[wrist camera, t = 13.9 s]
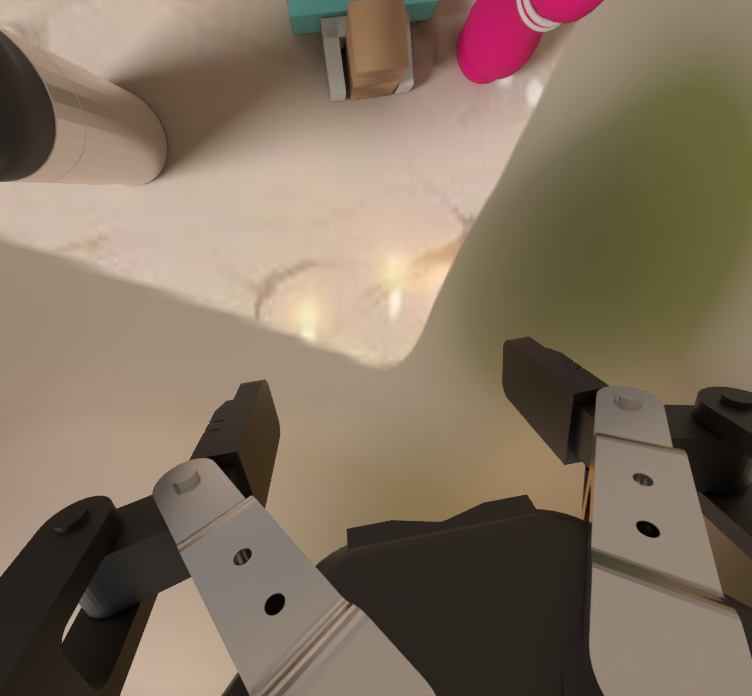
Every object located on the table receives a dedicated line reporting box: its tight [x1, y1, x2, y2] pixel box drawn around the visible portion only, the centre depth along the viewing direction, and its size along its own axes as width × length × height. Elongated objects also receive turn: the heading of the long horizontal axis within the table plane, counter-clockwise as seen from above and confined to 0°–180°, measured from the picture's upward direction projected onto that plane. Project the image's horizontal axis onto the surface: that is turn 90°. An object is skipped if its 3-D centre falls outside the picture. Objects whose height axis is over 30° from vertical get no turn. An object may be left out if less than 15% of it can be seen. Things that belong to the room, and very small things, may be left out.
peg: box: [344, 0, 409, 100], centre depth 33 cm, size 4×4×10 cm
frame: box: [320, 9, 414, 102], centre depth 36 cm, size 8×6×3 cm
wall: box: [287, 0, 439, 35], centre depth 34 cm, size 14×2×4 cm, turn 97°
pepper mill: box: [457, 0, 603, 84], centre depth 29 cm, size 7×7×20 cm
